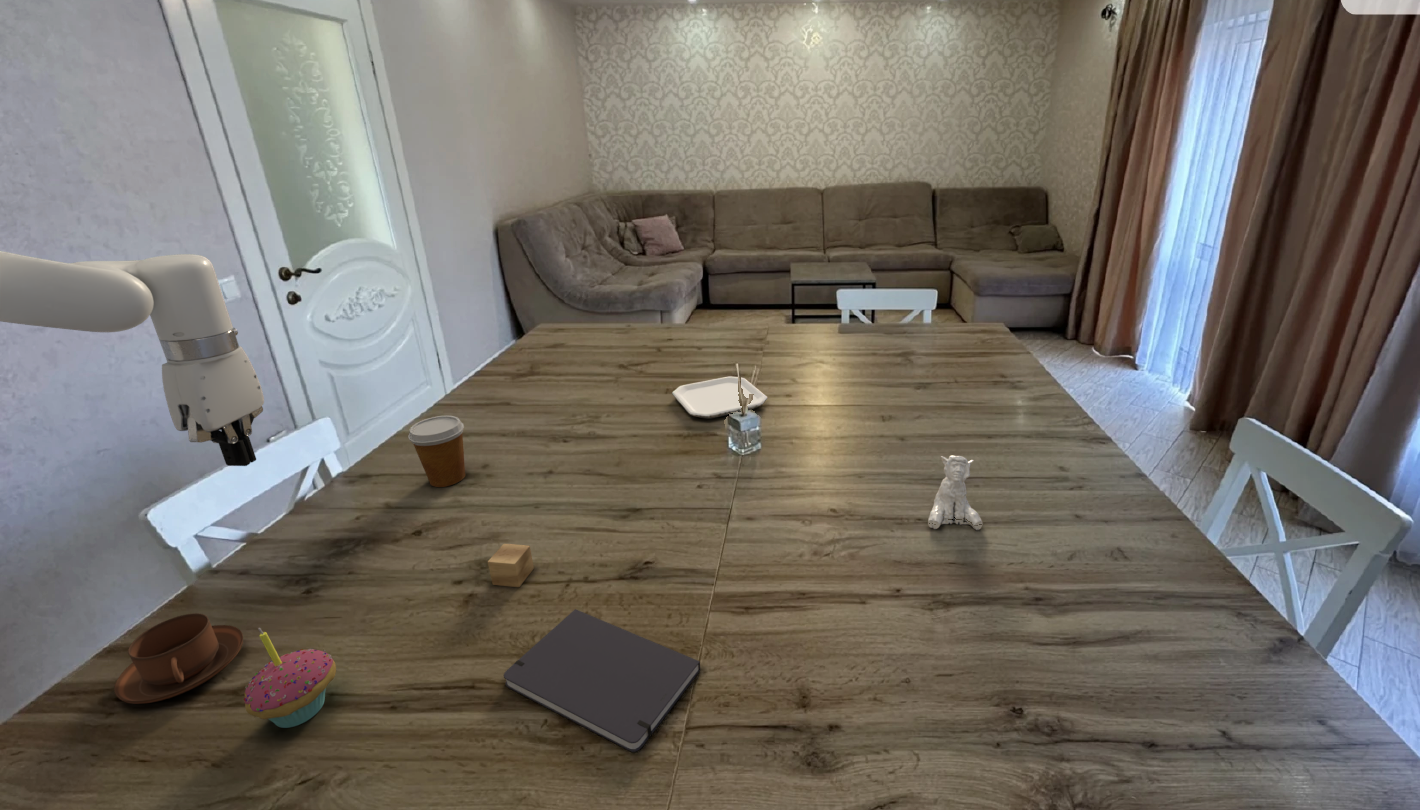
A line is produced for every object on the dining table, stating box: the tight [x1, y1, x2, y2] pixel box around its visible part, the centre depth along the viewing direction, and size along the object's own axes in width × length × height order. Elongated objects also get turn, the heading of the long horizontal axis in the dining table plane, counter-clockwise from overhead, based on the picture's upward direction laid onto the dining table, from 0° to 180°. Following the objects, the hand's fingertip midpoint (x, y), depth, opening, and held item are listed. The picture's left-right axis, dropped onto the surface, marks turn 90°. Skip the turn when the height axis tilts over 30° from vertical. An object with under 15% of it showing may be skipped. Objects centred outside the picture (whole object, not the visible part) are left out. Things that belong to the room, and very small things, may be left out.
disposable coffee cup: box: [407, 415, 466, 488], centre depth 120 cm, size 10×10×12 cm
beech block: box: [487, 543, 535, 588], centre depth 95 cm, size 4×4×4 cm
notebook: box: [503, 608, 701, 753], centre depth 77 cm, size 13×2×21 cm
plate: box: [671, 375, 768, 420], centre depth 157 cm, size 21×21×2 cm
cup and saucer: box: [113, 612, 244, 705], centre depth 78 cm, size 12×12×6 cm
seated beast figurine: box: [927, 455, 984, 531], centre depth 108 cm, size 10×9×12 cm
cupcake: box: [243, 627, 337, 729], centre depth 71 cm, size 9×8×12 cm
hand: (241, 463), depth 90 cm, fingers closed
